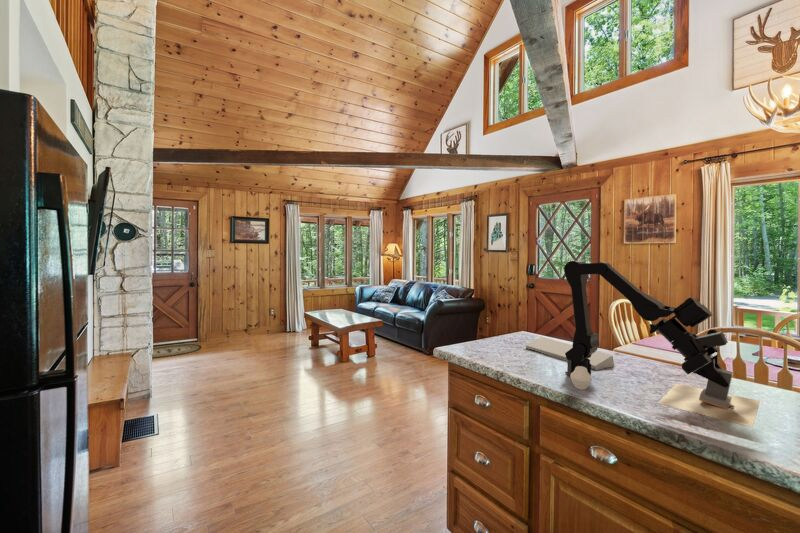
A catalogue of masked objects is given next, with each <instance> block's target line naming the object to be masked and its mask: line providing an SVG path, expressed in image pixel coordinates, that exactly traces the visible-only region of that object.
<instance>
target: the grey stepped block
mask: <svg viewBox="0 0 800 533" xmlns="http://www.w3.org/2000/svg"><path fill="white" fill-rule="evenodd" d="M715 368H716V367H715ZM716 369H717V370H718V371H719V373H720V374H721V375H722V376H723V378H724V379H725V380H726V382H727V383H728V384H729V386H728V387H726V388H725V387H723V386H721V385H719V384H717V383H715V382H713V381H711V380H708V379H707V382H706V387H705V388H702V389H703V391H702V392H701V394H700V398H699V400H700V401H703V402H706V403H709V404H712V405H715V406H718V407H721V408H724V409H727V410H728V408H729V405H730V403H731V399H732V397H730V396H728V394H729V391H730V387H731V382H732V378H733V374H734V372H733V371H730V370H726V369H723V368H722V369H720V368H716Z"/></svg>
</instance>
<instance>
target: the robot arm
mask: <svg viewBox="0 0 800 533" xmlns="http://www.w3.org/2000/svg"><path fill="white" fill-rule="evenodd" d="M563 271H564V275H565V278H566V281H567V283H568V285H569V287H570V289H571V298H572V308H573V317H574V326H575V330H574V333H573V336H572V337H573V338H572V345H573V348H571V349H570V350H569V351H567V352H566V353H565V355H566V358H567V360H568V361H567V370H566V371H565V372H564V373H565V374H566V375H567V376H568V377H570V374H571V373H572V372H573V371H574V370H575V368H576V367H577V366H583V367H585V368H586V369H587V372H588V373H589V374H590V375H591V376H592V368H591V364H590V360H589V359H588V358H590V357H591V355H592V354H593V353H594V352H595V351H598V347H599V346H600V343H599V333H594V332H593V329H591V320H590V312H589V305H588V296H587V285H588V280H589V275H600V276H601V277H602V278H603V279H604V280H606V282H608V283H609V285H611V286H612V287H613V288H615V290H617V291H618V292H619V293H620V294H621V295H622V296H624V297H625V298H626V299H627V300H628V301H629V302H630V304H631V306H632V308H633V309H634V310H635V311H636V312H637V314H638V315H639V317H640V318H642V319H643V320H644V321H647V322H654V321H655V322H656V321H658V320H659V319H661V320H659V321H658V322H656V323H650V324H649V334H650V335H652V334H654V333H656V332H657V331H658V332H659V333H660V334H661V335H662V336H663V338H664V339H666V340H667V342H669V343H670V344H671V348H672V349H673V350H674V351H675V350H677V352H679V353H680V354H681V355H682V356H683V357H684V358H683V361H684V362H682V363H681V369H682V370H683V371H684V372H685V374H687V375H690V374H691V373H693V374H696V375H698V376H699V377H702V378H705V379H706V380H707V381H708V380H711V381H713V382H715V383H717V384H719V385H721V386H723V387H725V388H726V387H728V386H729V384H728V383H727V382H726V380H725V379H724V378H723V376H722V375H721V374H720V373H719V371H718V370H717V369H716V368H720V369H723V368H722V367H721V365H720V363H719V356H720V354H719V351H720V349H719V347H724V346H726V345H728V343H729V342H728V340H727V338H726V334H724V332H723V331H722V330H720V331H718V330H717V329H716V328H711V329H708V330H707V331H706V332H707V333H706V334H702V335H700V336H698V334H696V333H691V332H690V331H689V330H688V329H687V328H688V327H689V326H690V327H692V328H695V327H697V326H698V325H700V324H701V323H703V322H704V321H706V320H708V319H709V318H711V317H712V316H713V313H712V312H711V311H710V309H709V308H708V307H707V306H706V305H704V303H703V304H702V303H701V302H699V301H698V300H696V299H695V298H694V297H692V296H690V297H688V298H687V299H685V300H684V302H682V303H680V305H678V306H677V307H674V306H671V305H670V306H669V305H666V304H665V305H664V303H663V302H661V300H658V299H656V298H655V297H654V296H651V295H649V294H647V293H645V292H643V291H642V290H640V289H639V288H638V287H637V286H635V284H633V283H632V282H631V281H630V280H628V279H627V278H626V277H625V276H624V275H623V274H621V273H620V272H619V271H618V270H616V269H615V268H614V267H613V266H612V265H611V264H610V262H606V261H599V262H593V263H592V262H589V263H586V262H585V261H583V260H570V261H568V262H566V264H565V265H564V267H563ZM672 315H674V316H672ZM670 316H672V317H671V318H670V319H666V318H667V317H670ZM715 353H717V354H715ZM713 354H715V355H713ZM715 367H716V368H715Z"/></svg>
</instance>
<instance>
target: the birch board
mask: <svg viewBox="0 0 800 533" xmlns="http://www.w3.org/2000/svg"><path fill="white" fill-rule="evenodd" d="M703 389H704V388H701V387H700V388H699V387H696V386H691V385H685V384H683V383H682V384H680V383H675V384H674V385H673V387H671V389H670V390H668V391H667V393H666V394H665V395H664V396H663V397H662V398H661V399H660V400H659V401H658V402H657V405H661V406H666V407H669V408H674V409H678V410H681V411H686V412H690V413H693V414H698V415H702V416H707V417H709V418H714V419H718V420H722V421H726V422H730V423H734V424H737V425H742V426H746V427H751V428H753V426H754V422H755V419H756V416H757V412H758V409H759V405H760V400H758V399H753V398H748V397H744V396H739V395H733V394H729V393H728V396H730V397H732V399H731V403H730V405H729V408H728V410H727V409H724V408H721V407H718V406H715V405H712V404H709V403H706V402H703V401H700V400H699V398H700V394H701V392H702V391H703Z"/></svg>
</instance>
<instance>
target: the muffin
mask: <svg viewBox="0 0 800 533" xmlns="http://www.w3.org/2000/svg"><path fill="white" fill-rule="evenodd" d="M569 377H570V380H571V382H572V384H573V386H574V388H576V389H577V390H580V391H581V390H582V391H583V390H584V391H585V390H587V389H588V387H589V386H590V384H591V381H593V380H592V379H593V376H592V374H591V375H590V374H589V373H588V372H587V369H586V368H585V367H583V366H577V367H576V368H575V370H574V371H573V372H572V373H571V374H570V376H569Z"/></svg>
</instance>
